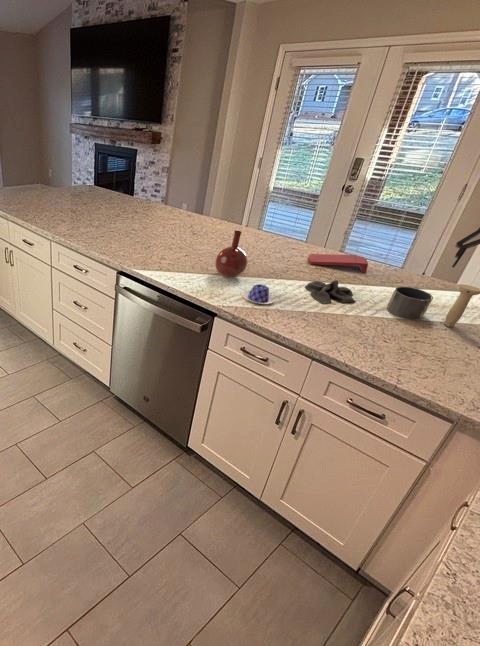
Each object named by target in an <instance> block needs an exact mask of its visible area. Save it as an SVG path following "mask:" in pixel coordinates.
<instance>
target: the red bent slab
mask: <svg viewBox="0 0 480 646" xmlns="http://www.w3.org/2000/svg"><path fill="white" fill-rule="evenodd" d="M307 263H308V264H310V265H320V266H321V265H323V266H326V265H327V266H352V267H353V266H354V267H356V266H357V267H359V269H360V272H361V273H366V272H367V269H368V266H369V263H368V259H367V258H365V257H363V256H361V255H357V254H335V253H334V254H333V253H332V254H329V253H310V254H308V257H307Z"/></svg>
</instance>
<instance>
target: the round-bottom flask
mask: <svg viewBox="0 0 480 646" xmlns="http://www.w3.org/2000/svg"><path fill="white" fill-rule="evenodd" d="M233 233H234V234H233V237H232V242H231V246H227V247H225V248H223V249H222V250H221V251H220V252H219V253H218V254H217V255H216V258H215V263H214V264H215V269H216V271H217V272H218V274H219V275H220V276H222V277H223V278H228V279H233V278H237V277H239V276H241V275H242V274H243V273H244V272H245V270H246V269H247V266H248V256H247V254H246V253H245V251H244V250H243V249H241V248H240V247H239V244H240V239H241V235H242V231H241V230H234V231H233Z"/></svg>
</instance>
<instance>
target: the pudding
mask: <svg viewBox="0 0 480 646" xmlns="http://www.w3.org/2000/svg"><path fill="white" fill-rule="evenodd" d="M242 297H243V298H244V299H245V300H247V301H249V302H252V303H255V304H259V305H260V304H261V305H270V304H272V303H274V302H275V298H274V297H273V296H272V295H271V294H270V287H268V286H267V285H266V284H261V283H260V284H257V283H256V284H254V285H253V286H252V287H251V289H250V290H247V291H244V292H243V293H242Z"/></svg>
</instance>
